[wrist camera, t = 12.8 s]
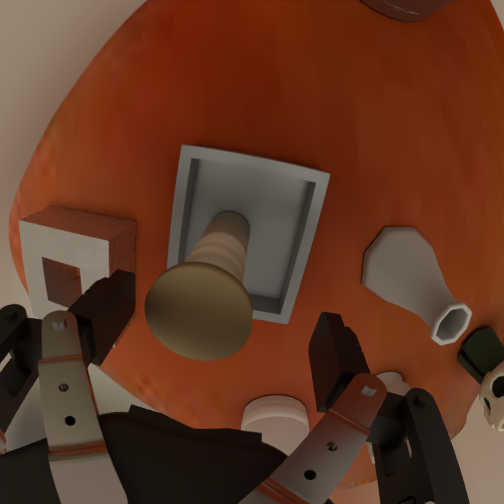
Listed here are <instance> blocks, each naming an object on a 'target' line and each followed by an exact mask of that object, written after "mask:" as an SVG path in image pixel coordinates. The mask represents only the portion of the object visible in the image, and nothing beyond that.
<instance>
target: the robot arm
mask: <svg viewBox="0 0 504 504" xmlns="http://www.w3.org/2000/svg"><path fill="white" fill-rule="evenodd" d="M362 1H363V2H364V3H365V4H367V5H368V6H370V7H371V8H373V9H374V10H376V11H378V12H380V13H382V14H384V15H386V16H388V17H391V18H394V19H397V20H402V21H413V22H415V21H419V20H422V19H424V18H426V17H427V16H429V15H431V14H432V13H434V12H435V11H437V10H439V9H440V8H442V7H444V6H446V5H447V4H449V3H451V2H452V1H454V0H362ZM135 303H136V302H135V274H134V273H133V272H129V271H125V270H121V269H117V270H116V271H114V272H113V273H112V274H111V275H110V276H109V277H108V278H107V277H104V278H102V279H100V280H97V281H95V282H94V283H93V284H92V285H91V286H90V287H89V289H87V290H86V291H85V292H84V294H82V295H81V296H80V297H79V298H78V299H77V300H76V301H75V302H74V303H73V304H72V305H71V306H70V307H69V308H68V309H67V311H65V310H57V311H53V312H50V313H49V314H47V315H46V316H45V317H44V318H43V320H42V319H34V318H28V317H27V313H26V310H25V308H24V307H23V306H21V305H18V304H11V305H7V306H5V307H3V308H1V310H0V363H1V362H2V360H3V359H4V358H5V357H6V355H7V354H8V353H10V355H11V359H10V360H9V362H8V363H7V364H6V366H5V367H4V368H3V370H2V371H1V372H0V504H334V503H333V502H332V501H331V500H330V499H329V496H330V495H331V494H332V492H333V491H334V489H335V488H336V487H337V485H338V484H339V482H340V481H341V479H342V478H343V476H344V475H345V473H346V472H347V470H348V469H349V467H350V466H351V464H352V463H353V461H354V460H355V458H356V456H357V455H358V453H359V451H360V450H361V448H362V446H363V445H364V443H365V441H366V442H370V443H371V444H372V449H373V455H374V461H375V467H376V474H377V481H378V487H379V496H380V504H470V503H469V499H468V495H467V491H466V488H465V484H464V481H463V477H462V474H461V471H460V467H459V464H458V461H457V458H456V455H455V452H454V449H453V446H452V443H451V441H450V438H449V435H448V432H447V430H446V427H445V424H444V422H443V419H442V417H441V414H440V412H439V409H438V407H437V404H436V402H435V400H434V398H433V396H432V395H431V394H430V393H429V392H427V391H425V390H423V389H421V388H412V389H410V390H409V391H408V392H407V393H406V395H405V396H402V395H399V394H395V393H391V392H388V391H387V388H386V386H385V384H384V382H383V381H382V380H381V379H379V378H378V377H376V376H374V375H372V374H371V373H370V370H369V368H368V365H367V362H366V360H365V357H364V354H363V352H362V349H361V346H360V345H359V341H358V339H357V336H356V334H355V333H354V332H353V331H352V330H351V329H350V328H349V327H345V326H344V323H343V321H342V318H341V315H340V314H335V313H329V312H322V313H321V315H320V317H319V319H318V322H317V324H316V327H315V330H314V332H313V335H312V337H311V340H310V343H309V350H308V353H309V360H310V366H311V372H312V379H313V386H314V392H315V399H316V407H317V412H323V413H326V414H325V415H324V416H323V418H322V419H321V420H320V421H319V422H318V424H317V425H316V426H315V427H314V428H313V430H312V431H311V432H310V433H309V434H308V435H307V437H306V438H305V439H304V440H303V441H302V442H301V443H300V445H299V446H298V447H297V448H296V449H295V450H294V451H293V452H292V453H291V454H290V455H289V456H287V455H286V454H285V453H284V452H282V451H281V450H279V449H277V448H275V447H274V446H271V445H269V444H267V443H264V442H262V433H259V432H251V431H244V430H237V429H231V428H223V429H194V428H191V427H189V426H186V425H184V424H182V423H180V422H178V421H176V420H174V419H172V418H170V417H168V416H166V415H164V414H162V413H158V412H155V411H151V410H148V409H145V408H142V407H138V406H135V405H131V406H130V409H129V412H111V413H106V414H101V415H100V413H99V410H98V407H97V403H96V400H95V396H94V392H93V389H92V385H91V381H90V377H89V373H88V369H87V368H88V366H89V364H90V363H93V364H96V365H98V366H101V364H102V363H103V361H104V359H105V358H106V356H107V355H108V353H109V351H110V350H111V348H112V347H113V345H114V344H115V342H116V340H117V339H118V337H119V336H120V334H121V333H122V331H123V330H124V328H125V327H126V325H127V324H128V322H129V321H130V319H131V318H132V316H133V314H134V310H135ZM38 376H39V384H40V394H41V403H42V411H43V418H44V424H45V430H46V435H47V437H46V438H44V439H41V440H39V441H37V442H34V443H31V444H29V445H26V446H23V447H21V448H18V449H15V450H12V451H9V452H7V451H6V448H5V446H6V439H5V435H4V434H5V432H6V430H7V428H8V426H9V425H10V423H11V421H12V419H13V417H14V416H15V414H16V412H17V411H18V409H19V407H20V405H21V404H22V402H23V400H24V399H25V397H26V395H27V394H28V392H29V390H30V389H31V387H32V386H33V384H34V383H35V381H36V379H37V378H38ZM407 440H408V441H409V444H410V448H411V457H410V453H409V449H408V445H407V442H406V441H407Z"/></svg>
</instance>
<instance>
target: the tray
mask: <svg viewBox="0 0 504 504" xmlns="http://www.w3.org/2000/svg"><path fill="white" fill-rule="evenodd" d="M329 178H330V174H329V173H327V172H325V171H323V170H320V169H316V168H312V167H308V166H304V165H300V164H295V163H291V162H287V161H282V160H278V159H273V158H268V157H263V156H258V155H253V154H248V153H243V152H237V151H231V150H226V149H220V148H213V147H207V146H200V145H193V144H189V145H182V147H181V153H180V159H179V166H178V172H177V179H176V186H175V194H174V202H173V210H172V219H171V228H170V238H169V249H168V261H167V269H168V268H170V267H172V266H174V265H177V264H180V263H184V262H185V261H186V259H187V257H188V256H189V254H190V253H191V251H192V250H193V248H194V246H195V245H196V243H197V242H198V240H199V239H200V237H201V236H202V234H203V233H204V231H205V229H206V228H207V226H208V225H209V223H210V222H211V220H212V219H213V218H214V216H215V215H217V214H218V213H220V212H222V211H226V210H232V211H236V212H239V213H241V214H242V215H243V216H244V217H245V218H246V219H247V221H248V223H249V225H250V237H249V244H248V250H247V257H246V264H245V270H244V277H243V286H244V287H245V289H246V290H247V292H248V294H249V296H250V299H251V302H252V308H253V315H252V318H253V319H259V320H264V321H270V322H276V323H282V324H288V322H289V319H290V315H291V312H292V309H293V306H294V303H295V300H296V297H297V293H298V290H299V287H300V284H301V280H302V277H303V274H304V270H305V267H306V263H307V260H308V257H309V253H310V250H311V246H312V242H313V239H314V235H315V232H316V228H317V224H318V221H319V217H320V213H321V209H322V205H323V202H324V198H325V194H326V190H327V186H328V182H329Z"/></svg>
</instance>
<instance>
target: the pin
mask: <svg viewBox="0 0 504 504" xmlns="http://www.w3.org/2000/svg"><path fill="white" fill-rule="evenodd" d="M249 237H250V225H249V223H248V221H247V219H246V218H245V217H244V216H243V215H242V214H241V213H239V212H236V211H232V210H226V211H222V212H220V213H218V214H217V215H215V216H214V218H213V219H212V220H211V222H210V223H209V225H208V226H207V228H206V229H205V231H204V233H203V234H202V236H201V237H200V239H199V240H198V242H197V243H196V245H195V246H194V248H193V250H192V251H191V253H190V254H189V256H188V257H187V259H186V261H185V262H184V263H180V264H177V265H174V266H172V267H170V268H168V269H167V270H165V271H164V272H163V273H162V274H161V275H160V276H159V277H158V279H157V280H156V281H155V283H154V284H153V285H152V287H151V288H150V290H149V292H148V294H147V296H146V300H145V316H146V320H147V323H148V325H149V327H150V329H151V331H152V332H153V334H154V335H155V337H156V338H157V339H158V340H159V341H160V342H161V343H162V344H163V345H164V346H166V347H167V348H168V349H170V350H171V351H173V352H175V353H177V354H179V355H181V356H184V357H187V358H190V359H195V360H203V361H210V360H218V359H222V358H225V357H228V356H230V355H232V354H234V353H235V352H237V351H238V350H239V349H240V348H241V347H242V346H243V345H244V344H245V343H246V341H247V339H248V337H249V335H250V332H251V327H252V315H253V308H252V302H251V299H250V296H249V294H248V292H247V290H246V289H245V287H244V286H243V277H244V270H245V264H246V257H247V250H248V244H249Z"/></svg>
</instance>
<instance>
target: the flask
mask: <svg viewBox="0 0 504 504" xmlns="http://www.w3.org/2000/svg"><path fill="white" fill-rule="evenodd" d="M361 284H362V285H364V286H365V287H367V288H368V289H369V290H371V291H372V292H373V293H375V294H376V295H378V296H379V297H380V298H382V299H384V300H386V301H388V302H391V303H393V304H396V305H398V306H401V307H403V308H405V309H407V310H409V311H411V312H413V313H415V314H417V315H418V316H420V317H421V318H422V319H423V320H424V322H425V323H426V324H427V325H428V327H429V328H430V333H429V335H430V337H431V339H433V340H434V341H435V342H436V343H438V344H439V345H440V346H441V345H445V344H449V343H454V342H455V341H456V340H457V339H458V338H459V337H460V336H461V334H462V333H463V332H464V331H465V330H466V329H467V326H468V324H469V321H470V318H471V315H472V311H471V310H470V309H469V308H468V307H467V305H466V304H465V303H464V302H462V301H456V300H455V299H454V297H453V296H452V294H451V293H450V291H449V289H448V288H447V286H446V284H445V281H444V279H443V276H442V273H441V271H440V268H439V266H438V263H437V260H436V257H435V254H434V251H433V248H432V246H431V244H430V243H429V242H428V241H427V240H426V239H425V238H424V237H423V236H422V235H421V234H420V233H419V232H418V231H417V230H416V229H415V228H414V227H385V228H384V229H383V230H382V232H381V233H380V234H379V235H378V237H377V238H376V239H375V241H374V242H373V243H372V244H371V246H370V247H369V248H368V249H367V251H366V252H365V253H364V262H363V272H362V280H361Z"/></svg>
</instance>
